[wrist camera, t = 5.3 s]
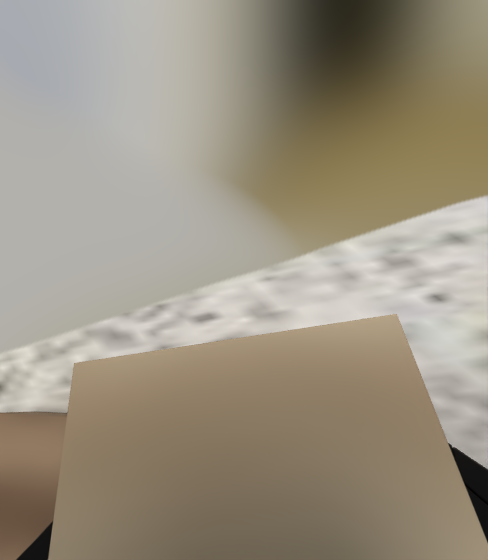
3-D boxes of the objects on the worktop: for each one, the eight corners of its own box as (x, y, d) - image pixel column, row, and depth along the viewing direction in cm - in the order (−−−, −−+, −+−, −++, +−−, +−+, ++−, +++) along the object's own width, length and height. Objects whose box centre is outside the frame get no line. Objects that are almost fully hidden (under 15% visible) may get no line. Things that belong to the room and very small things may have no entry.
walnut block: (138, 615, 15) (105, 672, 12) (-23, 598, 16) (-95, 646, 13) (166, 417, 19) (147, 419, 16) (37, 411, 20) (-5, 413, 17)
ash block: (324, 469, 13) (575, 761, 3) (216, 485, 13) (11, 836, 3) (303, 376, 15) (396, 314, 4) (209, 390, 15) (73, 363, 4)
